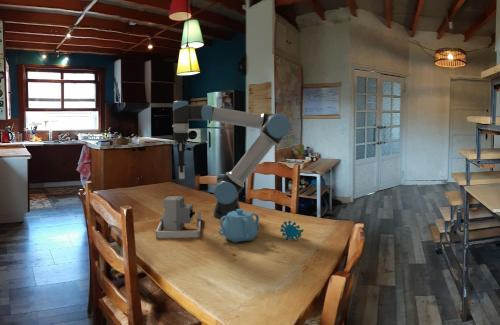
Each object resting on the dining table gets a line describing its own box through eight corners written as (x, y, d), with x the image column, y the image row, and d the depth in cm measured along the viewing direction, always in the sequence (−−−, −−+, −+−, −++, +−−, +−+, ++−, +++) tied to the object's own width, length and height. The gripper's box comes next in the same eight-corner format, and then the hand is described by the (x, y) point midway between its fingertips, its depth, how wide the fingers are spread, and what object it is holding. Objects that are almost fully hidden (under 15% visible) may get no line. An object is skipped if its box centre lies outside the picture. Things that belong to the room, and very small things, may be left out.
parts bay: (200, 226, 199) (200, 220, 199) (199, 237, 183) (199, 230, 182) (160, 227, 197) (160, 221, 197) (155, 238, 181) (155, 231, 180)
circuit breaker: (192, 231, 191) (192, 200, 189) (163, 230, 193) (162, 199, 191) (196, 226, 199) (196, 197, 197) (168, 225, 200) (167, 196, 198)
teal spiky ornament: (282, 238, 176) (280, 219, 182) (278, 245, 181) (276, 225, 187) (305, 240, 179) (302, 221, 185) (301, 246, 184) (298, 227, 190)
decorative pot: (214, 241, 178) (214, 211, 176) (233, 231, 192) (233, 203, 190) (246, 247, 170) (246, 216, 169) (263, 236, 184) (263, 207, 183)
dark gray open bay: (201, 219, 212) (201, 212, 212) (200, 226, 199) (200, 218, 199) (163, 220, 210) (163, 212, 210) (160, 227, 197) (160, 219, 197)
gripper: (174, 131, 207) (175, 176, 210) (172, 132, 194) (173, 180, 198) (189, 131, 208) (189, 176, 211) (187, 132, 195) (188, 180, 198)
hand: (181, 178), depth 204 cm, fingers closed
